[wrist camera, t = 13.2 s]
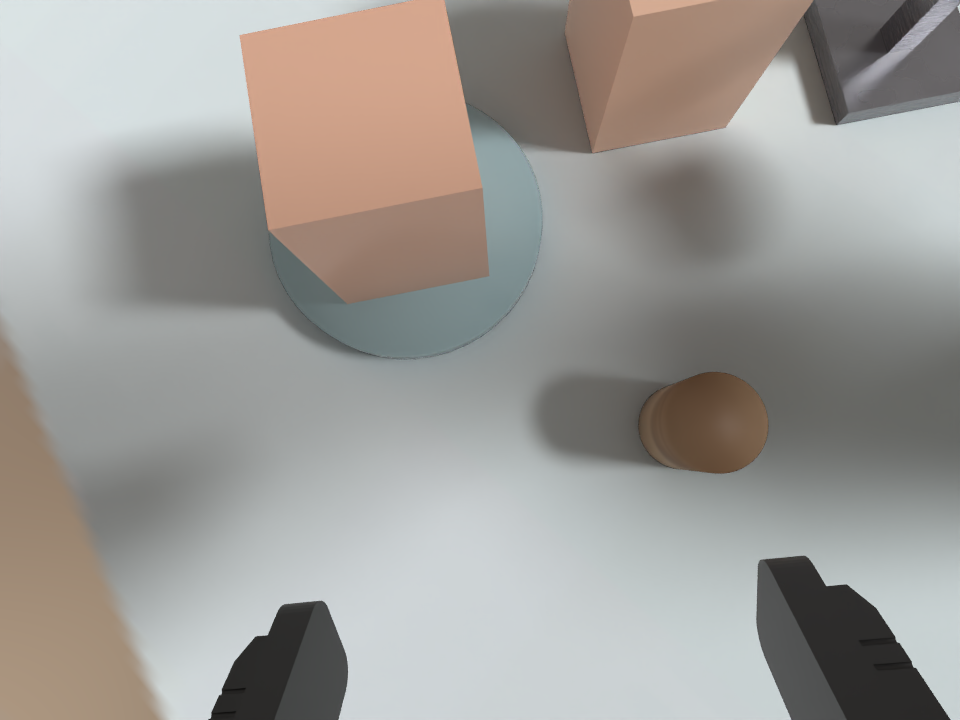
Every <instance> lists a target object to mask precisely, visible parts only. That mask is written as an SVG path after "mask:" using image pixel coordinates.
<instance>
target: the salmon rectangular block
mask: <svg viewBox="0 0 960 720" xmlns="http://www.w3.org/2000/svg"><path fill="white" fill-rule="evenodd" d="M240 41H241V48H242V55H243V62H244V68H245V75H246V82H247V89H248V96H249V103H250V109H251V116H252V123H253V130H254V137H255V144H256V150H257V157H258V164H259V171H260V178H261V185H262V191H263V198H264V205H265V212H266V219H267V225H268V231H270V232H271V233H272V234H273V235H274V236H275V237H276V238H277V239H278V240H279V241H280V242H281V243H282V244H283V245H285V246H286V247H287V248H288V249H289V250H290V251H291V252H292V253H293V254H294V255H295V256H296V257H297V258H298V259H300V260H301V261H302V262H303V263H304V264H305V265H306V266H307V267H308V268H309V269H310V270H311V271H312V272H313V273H315V274H316V275H317V276H318V277H319V278H320V279H321V280H322V281H323V282H324V283H325V284H326V285H327V286H328V287H330V288H331V289H332V290H333V291H334V292H335V293H336V294H337V295H338V296H339V297H340V298H341V299H342V300H344V301H345V302H346V303H347V304H351V303H356V302H361V301H366V300H371V299H376V298H381V297H386V296H392V295H397V294H402V293H407V292H412V291H417V290H422V289H427V288H432V287H437V286H442V285H448V284H453V283H458V282H463V281H468V280H473V279H478V278H483V277H488V276H489V265H488V252H487V239H486V226H485V213H484V200H483V188H482V183H481V178H480V173H479V168H478V163H477V158H476V153H475V148H474V143H473V138H472V134H471V129H470V124H469V119H468V114H467V109H466V104H465V99H464V94H463V89H462V84H461V79H460V75H459V70H458V65H457V60H456V55H455V50H454V45H453V40H452V35H451V30H450V25H449V21H448V16H447V11H446V6H445V1H444V0H413V1H408V2H403V3H398V4H393V5H388V6H383V7H378V8H373V9H368V10H363V11H358V12H353V13H348V14H343V15H338V16H333V17H328V18H323V19H318V20H313V21H308V22H303V23H298V24H293V25H288V26H283V27H278V28H273V29H268V30H263V31H258V32H253V33H248V34H243V35H240Z"/></svg>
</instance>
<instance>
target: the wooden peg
mask: <svg viewBox="0 0 960 720" xmlns="http://www.w3.org/2000/svg"><path fill="white" fill-rule="evenodd" d="M638 427H639V435H640V438H641V441H642V443H643V445H644V447H645V449H646V450H647V452H648V453H649V454H650V455H651V456H652V457H653V458H654V459H655V460H657V461H658V462H660V463H661V464H663V465H665V466H668V467H671V468H675V469H682V470H691V471H699V472H708V473H730V472H734V471H737V470H739V469H742V468H744V467H745V466H747V465H748V464H750V463H751V462H752V461H753V460H754V459H755V458H756V457H757V456H758V455H759V453H760V452H761V450H762V448H763V447H764V444H765V442H766V439H767V434H768V417H767V412H766V409H765V406H764V404H763V402H762V400H761V398H760V397H759V395H758V394H757V393H756V391H755V390H754V389H753V388H752V387H751V386H750V385H749V384H747V383H746V382H745V381H743V380H741V379H740V378H738V377H736V376H733V375H730V374H727V373H721V372H708V373H702V374H699V375H696V376H693V377H691V378H688V379H685V380H683V381H680V382H677V383H675V384H672V385H670V386H667V387H664V388H662V389H660V390H658V391H656V392H655V393H654V394H652V395H651V396H650V397H649V398H648V400H647V401H646V402H645V404H644V405H643V407H642V410H641V412H640V416H639V423H638Z"/></svg>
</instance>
